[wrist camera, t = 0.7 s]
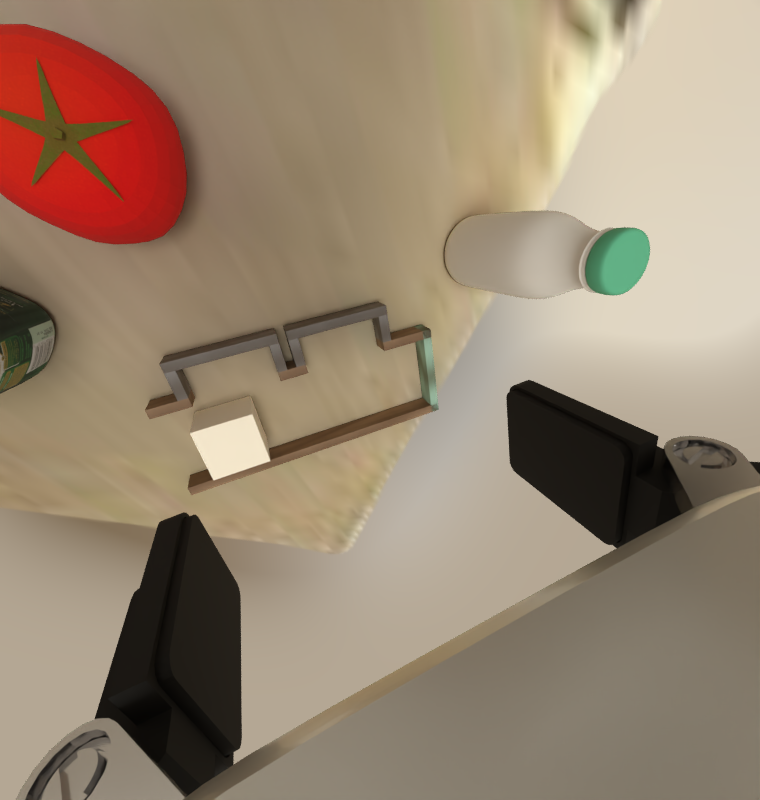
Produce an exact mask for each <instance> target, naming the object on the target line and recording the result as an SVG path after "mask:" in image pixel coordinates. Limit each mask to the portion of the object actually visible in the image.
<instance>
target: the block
mask: <svg viewBox="0 0 760 800" xmlns="http://www.w3.org/2000/svg"><path fill="white" fill-rule="evenodd" d="M190 434H191V436H192V438H193V440H194V442H195V444H196V446H197V448H198V450H199V452H200V454H201V456H202V458H203V460H204V462H205V464H206V466H207V468H208V470H209V472H210V474H211V476H212V478H213V480H216V479H219V478H222V477H225V476H228V475H231V474H234V473H237V472H240V471H243V470H246V469H249V468H252V467H254V466H257V465H260V464H263V463H266V462H269V461H270V454H269V448H268V441H267V437H266V435H265V432H264V429H263V427H262V424H261V422H260V419H259V416H258V414H257V411H256V408H255V406H254V403H253V400H252V398H251V396H247V397H244V398H241V399H237V400H234V401H230V402H227V403H224V404H220V405H217V406H213V407H210V408H207V409H203V410H200V411H196V412H195V413H194V418H193V422H192V426H191V431H190Z"/></svg>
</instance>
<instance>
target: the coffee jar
mask: <svg viewBox="0 0 760 800" xmlns="http://www.w3.org/2000/svg"><path fill="white" fill-rule="evenodd" d="M54 339H55V329H54V324H53V322H52V320H51V318H50V317H49V315H48V314H47V313H46V312H45V311H44V310H43V309H42V308H41V307H39V306H38V305H36V304H35V303H33V302H31V301H29V300H27V299H25V298H23V297H20V296H18V295H16V294H13V293H11V292H9V291H6V290H4V289H1V288H0V393H2V392H4V391H7V390H9V389H11V388H13V387H15V386H17V385H19V384H21V383H23V382H25V381H26V380H28V379H30V378H32V377H33V376H35V375H36V374H38V373H39V372H40V371H41V370H42V369H43V368H44V367H45V365H46V364H47V362H48V360H49V358H50V355H51V353H52V350H53V346H54Z"/></svg>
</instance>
